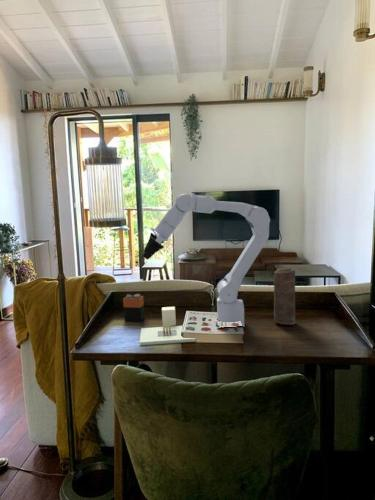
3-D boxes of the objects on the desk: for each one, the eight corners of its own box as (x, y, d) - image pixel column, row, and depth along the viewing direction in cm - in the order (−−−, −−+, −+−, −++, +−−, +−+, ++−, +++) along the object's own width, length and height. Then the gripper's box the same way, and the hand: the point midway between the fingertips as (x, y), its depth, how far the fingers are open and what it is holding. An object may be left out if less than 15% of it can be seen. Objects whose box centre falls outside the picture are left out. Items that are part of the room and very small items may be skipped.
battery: (141, 322, 145) (139, 296, 143) (124, 321, 147) (122, 296, 145) (145, 318, 149) (143, 293, 148) (128, 317, 151) (126, 292, 149)
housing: (175, 321, 144) (174, 306, 143) (175, 325, 141) (175, 309, 140) (162, 322, 144) (161, 307, 143) (162, 326, 140) (161, 310, 139)
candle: (286, 329, 133) (286, 272, 129) (269, 323, 139) (269, 269, 135) (299, 323, 138) (300, 268, 134) (282, 318, 143) (282, 265, 140)
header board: (192, 327, 138) (191, 318, 137) (195, 341, 126) (194, 330, 125) (141, 331, 137) (140, 321, 136) (139, 345, 125) (139, 334, 124)
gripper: (159, 214, 139) (137, 244, 140) (159, 219, 125) (134, 253, 126) (175, 226, 140) (153, 255, 142) (176, 232, 126) (152, 265, 127)
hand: (145, 255), depth 134 cm, fingers open, 7 cm apart
